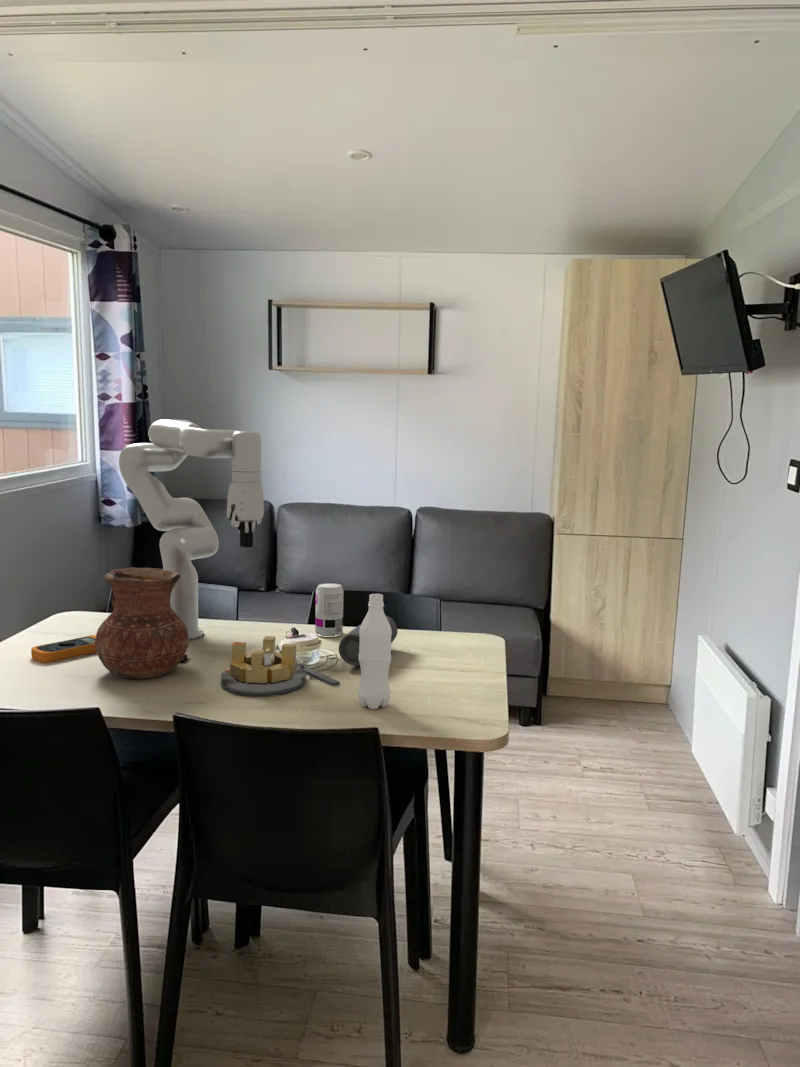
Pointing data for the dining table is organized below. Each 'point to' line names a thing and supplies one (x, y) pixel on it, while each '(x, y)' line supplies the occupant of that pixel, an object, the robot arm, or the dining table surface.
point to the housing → (263, 688)
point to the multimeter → (64, 649)
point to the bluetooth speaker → (352, 640)
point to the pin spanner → (319, 675)
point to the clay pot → (141, 625)
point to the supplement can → (329, 609)
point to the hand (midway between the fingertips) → (246, 546)
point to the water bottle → (374, 655)
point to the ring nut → (262, 662)
